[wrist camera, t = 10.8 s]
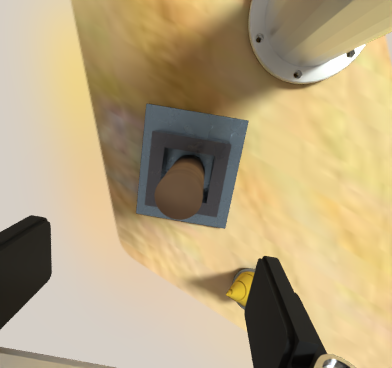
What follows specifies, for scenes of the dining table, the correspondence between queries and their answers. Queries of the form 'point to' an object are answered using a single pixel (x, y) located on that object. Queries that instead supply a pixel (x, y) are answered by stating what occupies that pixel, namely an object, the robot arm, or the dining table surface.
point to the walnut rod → (181, 188)
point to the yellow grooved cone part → (241, 286)
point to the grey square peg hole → (197, 146)
